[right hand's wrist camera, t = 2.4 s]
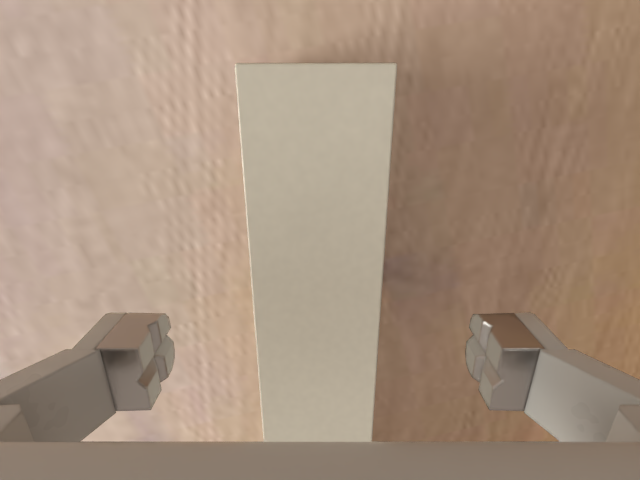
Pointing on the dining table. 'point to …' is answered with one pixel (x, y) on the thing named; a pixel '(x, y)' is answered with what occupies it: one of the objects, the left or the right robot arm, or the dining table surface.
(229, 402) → the dining table surface
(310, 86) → the cream rectangular bar
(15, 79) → the dining table surface
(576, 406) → the right robot arm
